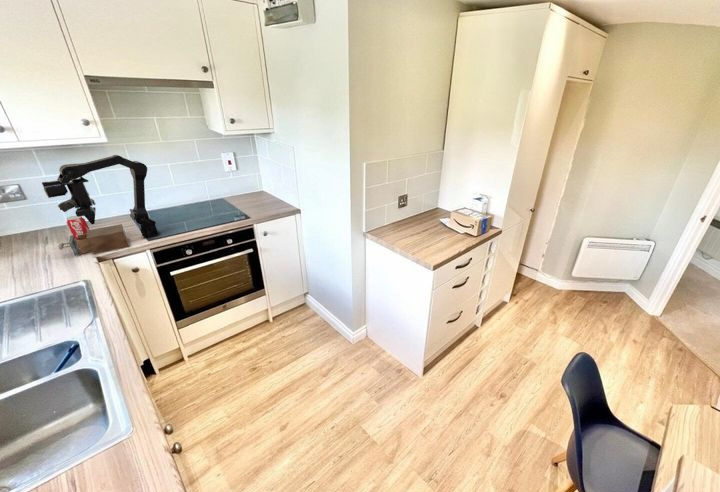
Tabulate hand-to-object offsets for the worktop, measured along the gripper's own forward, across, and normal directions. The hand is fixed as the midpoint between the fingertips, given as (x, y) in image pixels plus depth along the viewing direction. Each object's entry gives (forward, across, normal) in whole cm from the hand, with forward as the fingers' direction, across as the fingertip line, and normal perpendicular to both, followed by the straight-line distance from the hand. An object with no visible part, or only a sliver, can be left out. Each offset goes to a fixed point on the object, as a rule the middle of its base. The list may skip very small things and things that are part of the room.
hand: (93, 224), depth 155 cm
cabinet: (+13, 0, +3) cm, 13 cm away
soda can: (+13, -20, -8) cm, 25 cm away
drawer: (+12, 0, -6) cm, 14 cm away
